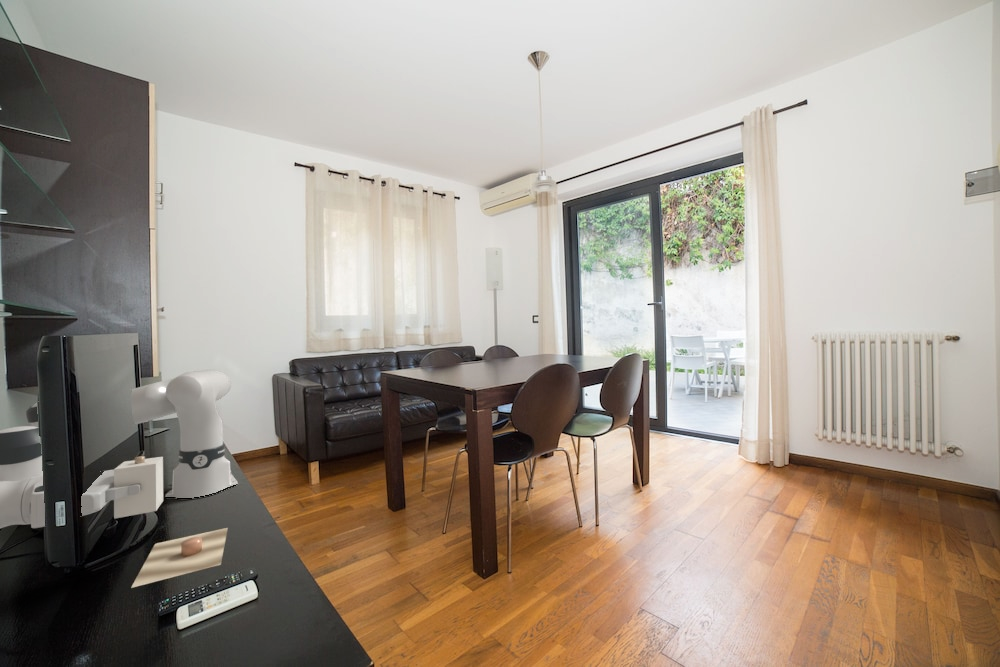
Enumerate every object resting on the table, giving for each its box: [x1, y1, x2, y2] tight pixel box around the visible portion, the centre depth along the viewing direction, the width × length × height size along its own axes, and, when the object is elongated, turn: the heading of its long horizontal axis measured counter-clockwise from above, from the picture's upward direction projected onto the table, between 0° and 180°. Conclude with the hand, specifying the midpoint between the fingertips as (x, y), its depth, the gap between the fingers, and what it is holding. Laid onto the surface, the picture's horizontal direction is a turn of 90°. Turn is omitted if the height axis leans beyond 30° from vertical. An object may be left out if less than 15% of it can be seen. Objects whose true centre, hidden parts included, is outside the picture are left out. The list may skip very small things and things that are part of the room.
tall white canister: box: [113, 455, 164, 519], centre depth 86 cm, size 7×7×11 cm
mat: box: [130, 527, 229, 589], centre depth 87 cm, size 20×14×1 cm
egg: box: [181, 537, 202, 557], centre depth 88 cm, size 4×4×2 cm
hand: (145, 482), depth 86 cm, fingers closed on tall white canister, 7 cm apart
